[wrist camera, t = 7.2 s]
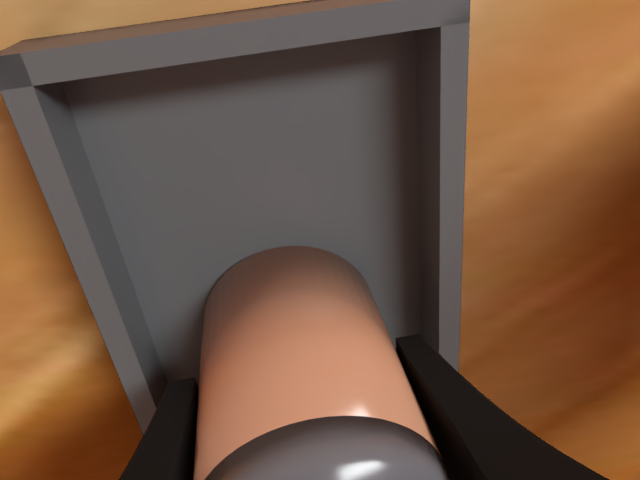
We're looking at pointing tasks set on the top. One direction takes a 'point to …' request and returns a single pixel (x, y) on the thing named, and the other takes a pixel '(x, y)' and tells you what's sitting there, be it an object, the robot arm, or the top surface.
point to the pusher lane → (250, 163)
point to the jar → (304, 378)
